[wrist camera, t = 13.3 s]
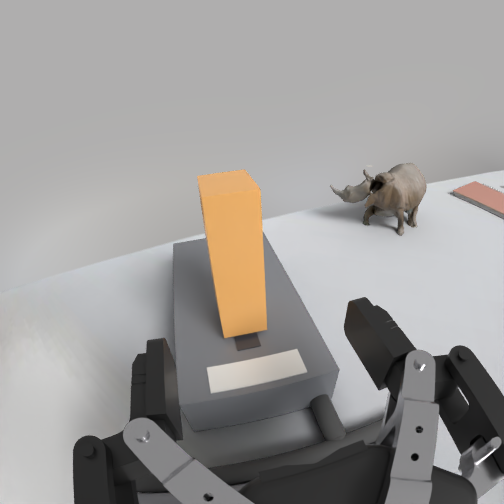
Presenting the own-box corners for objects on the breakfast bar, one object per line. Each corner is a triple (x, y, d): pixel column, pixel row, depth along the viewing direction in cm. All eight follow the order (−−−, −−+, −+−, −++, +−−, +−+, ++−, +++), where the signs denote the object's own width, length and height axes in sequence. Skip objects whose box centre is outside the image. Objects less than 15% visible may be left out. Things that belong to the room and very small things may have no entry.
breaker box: (193, 431, 18) (178, 404, 16) (180, 273, 35) (173, 243, 32) (330, 400, 19) (339, 368, 17) (263, 259, 36) (261, 228, 34)
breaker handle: (224, 338, 20) (201, 197, 15) (216, 301, 23) (197, 176, 18) (267, 329, 20) (260, 188, 15) (254, 294, 24) (244, 169, 18)
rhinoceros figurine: (451, 210, 40) (423, 133, 33) (401, 270, 41) (361, 199, 33) (418, 196, 47) (386, 127, 39) (371, 250, 48) (327, 185, 40)
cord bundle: (137, 533, 11) (128, 530, 10) (131, 412, 19) (124, 403, 18) (430, 457, 14) (439, 450, 13) (372, 361, 22) (376, 350, 21)
